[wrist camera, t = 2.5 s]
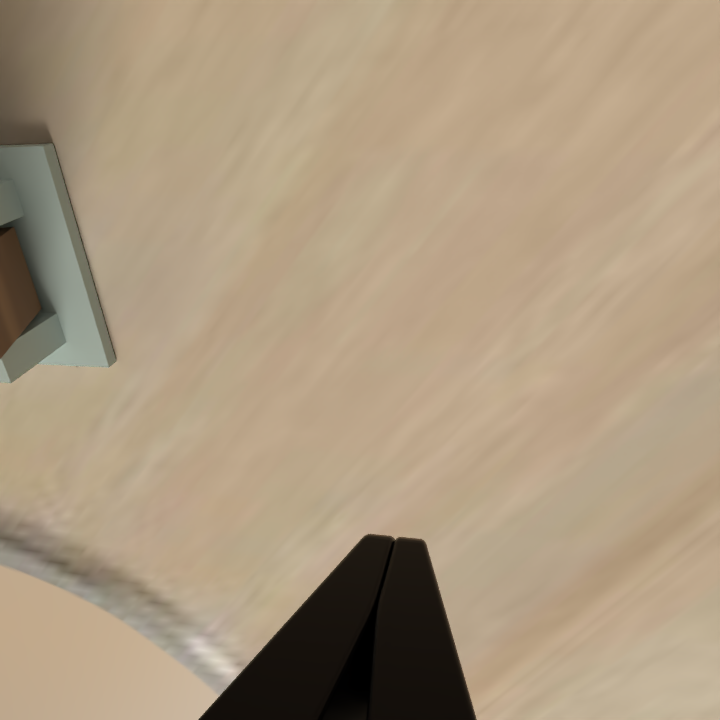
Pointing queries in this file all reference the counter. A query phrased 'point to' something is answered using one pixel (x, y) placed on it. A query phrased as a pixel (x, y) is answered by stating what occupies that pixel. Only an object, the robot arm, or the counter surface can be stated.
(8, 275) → the brown wooden post
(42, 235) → the bracket
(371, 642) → the robot arm
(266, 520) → the counter surface
